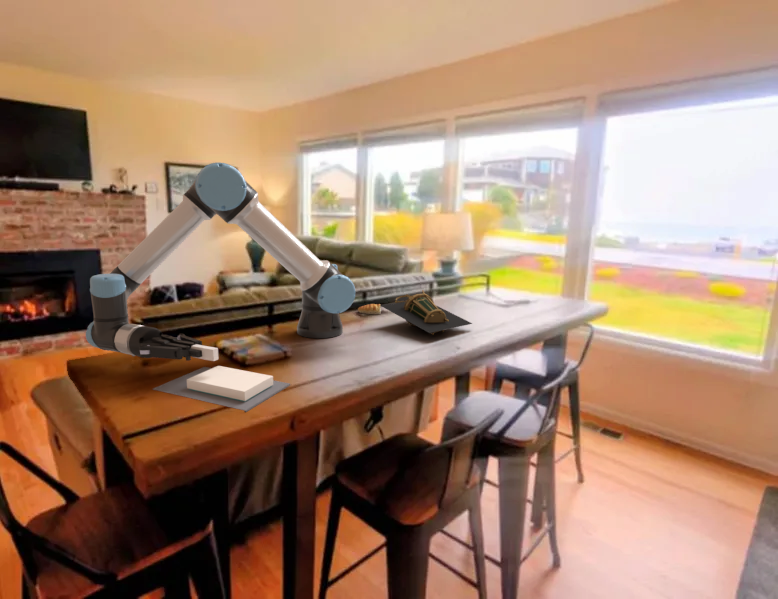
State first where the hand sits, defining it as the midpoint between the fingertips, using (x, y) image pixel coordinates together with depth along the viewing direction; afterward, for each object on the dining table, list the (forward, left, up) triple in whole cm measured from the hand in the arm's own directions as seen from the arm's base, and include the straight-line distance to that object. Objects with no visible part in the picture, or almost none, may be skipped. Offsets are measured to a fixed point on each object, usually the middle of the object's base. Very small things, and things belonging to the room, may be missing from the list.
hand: (215, 354), depth 104 cm
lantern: (-58, -50, -8) cm, 78 cm away
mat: (-1, +1, -8) cm, 8 cm away
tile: (+4, -2, -6) cm, 7 cm away
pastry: (-44, -74, -8) cm, 86 cm away
